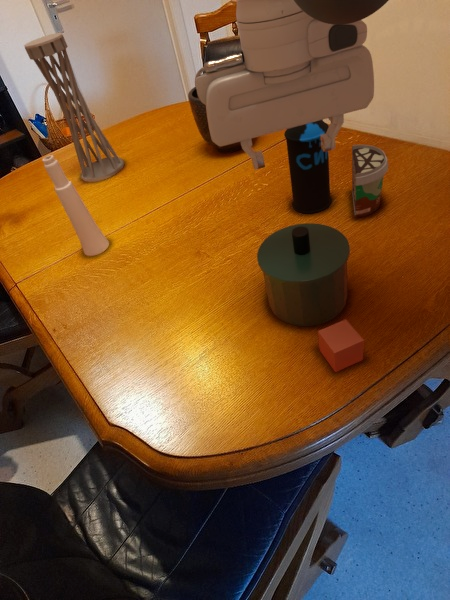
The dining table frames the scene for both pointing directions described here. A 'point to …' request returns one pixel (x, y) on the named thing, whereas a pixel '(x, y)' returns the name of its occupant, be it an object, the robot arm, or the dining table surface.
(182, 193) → the dining table surface
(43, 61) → the lattice tower
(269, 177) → the dining table surface
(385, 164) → the food container
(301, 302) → the tin
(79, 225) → the cosmetic bottle
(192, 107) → the planter
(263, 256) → the lid
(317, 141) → the aerosol can
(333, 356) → the block
